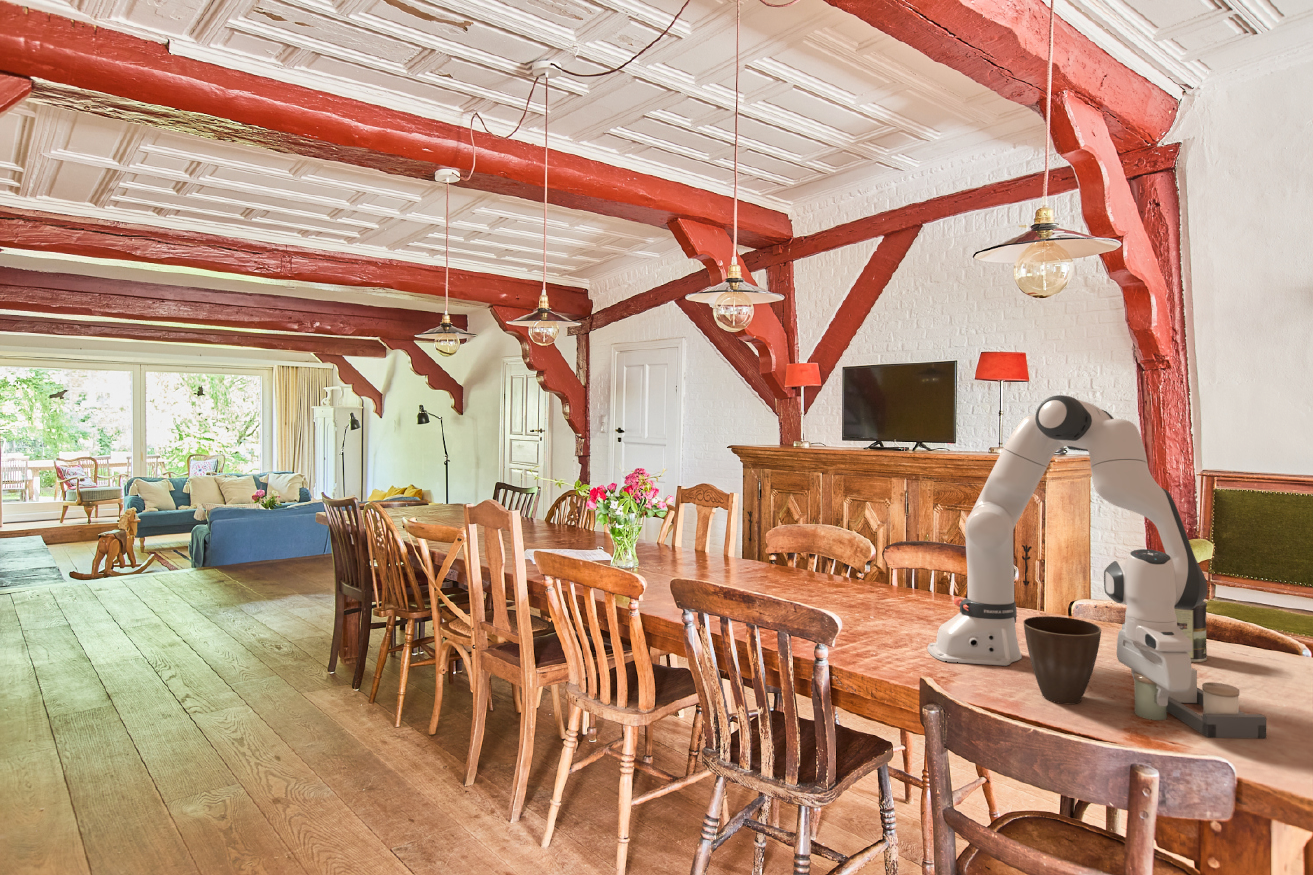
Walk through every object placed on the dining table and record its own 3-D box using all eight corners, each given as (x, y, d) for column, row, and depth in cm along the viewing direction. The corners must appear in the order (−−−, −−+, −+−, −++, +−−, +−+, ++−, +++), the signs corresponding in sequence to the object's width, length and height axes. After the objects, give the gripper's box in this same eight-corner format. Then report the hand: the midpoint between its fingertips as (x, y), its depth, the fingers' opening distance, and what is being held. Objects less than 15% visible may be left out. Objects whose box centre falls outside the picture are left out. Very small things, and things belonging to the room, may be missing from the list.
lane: (1207, 737, 144) (1207, 716, 143) (1144, 697, 164) (1144, 679, 164) (1266, 738, 143) (1266, 717, 143) (1195, 697, 164) (1195, 679, 164)
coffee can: (1194, 650, 196) (1194, 596, 196) (1215, 663, 186) (1215, 606, 186) (1150, 649, 199) (1150, 595, 198) (1168, 661, 188) (1168, 604, 188)
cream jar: (1214, 734, 145) (1214, 692, 145) (1195, 722, 151) (1195, 682, 151) (1246, 734, 145) (1246, 692, 144) (1226, 722, 150) (1226, 682, 150)
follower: (1163, 702, 161) (1163, 669, 161) (1153, 696, 164) (1153, 664, 164) (1197, 702, 160) (1196, 669, 160) (1186, 696, 164) (1186, 664, 164)
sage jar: (1143, 720, 152) (1143, 680, 152) (1128, 709, 158) (1127, 671, 158) (1174, 720, 152) (1174, 680, 152) (1157, 709, 158) (1157, 671, 157)
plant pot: (1118, 707, 159) (1118, 631, 159) (1057, 714, 156) (1056, 636, 156) (1066, 683, 174) (1065, 614, 173) (1008, 689, 171) (1008, 618, 170)
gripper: (1108, 617, 165) (1108, 681, 165) (1163, 645, 145) (1164, 717, 145) (1138, 618, 165) (1138, 681, 165) (1198, 645, 144) (1198, 717, 144)
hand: (1151, 698), depth 155 cm, fingers closed on sage jar, 5 cm apart
